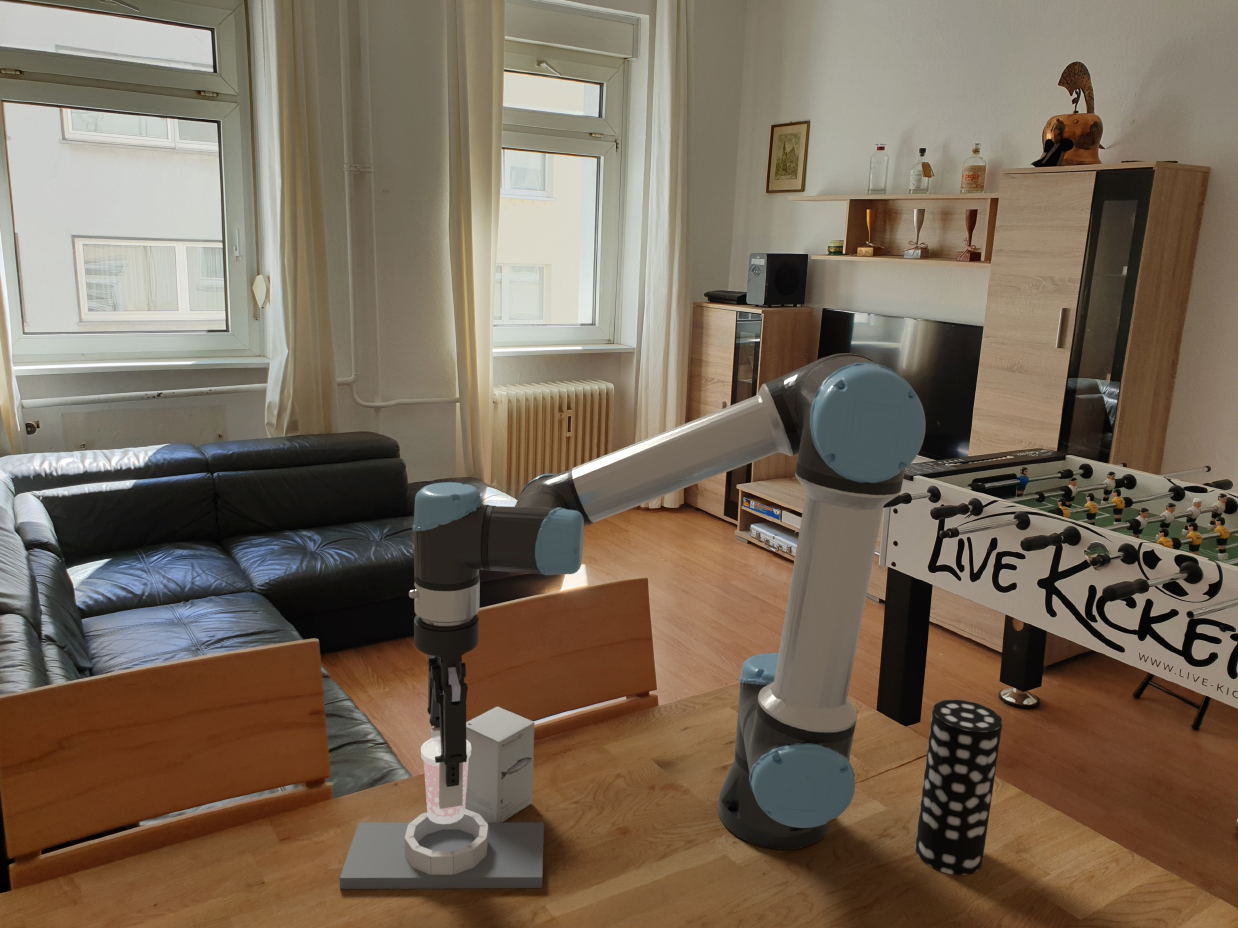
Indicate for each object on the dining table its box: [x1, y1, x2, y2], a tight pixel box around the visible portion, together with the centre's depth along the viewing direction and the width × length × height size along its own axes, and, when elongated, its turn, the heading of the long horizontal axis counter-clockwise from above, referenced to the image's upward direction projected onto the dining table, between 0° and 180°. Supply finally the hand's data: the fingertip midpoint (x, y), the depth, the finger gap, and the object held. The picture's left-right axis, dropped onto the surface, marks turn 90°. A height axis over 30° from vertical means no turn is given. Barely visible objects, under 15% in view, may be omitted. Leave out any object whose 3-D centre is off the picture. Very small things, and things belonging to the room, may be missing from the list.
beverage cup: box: [420, 736, 471, 824], centre depth 115 cm, size 6×6×14 cm
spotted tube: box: [914, 699, 1004, 876], centre depth 121 cm, size 8×8×20 cm
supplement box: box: [465, 706, 535, 822], centre depth 129 cm, size 7×7×13 cm
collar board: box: [339, 809, 545, 890], centre depth 118 cm, size 24×11×4 cm, turn 93°
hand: (446, 789), depth 116 cm, fingers closed on beverage cup, 6 cm apart
